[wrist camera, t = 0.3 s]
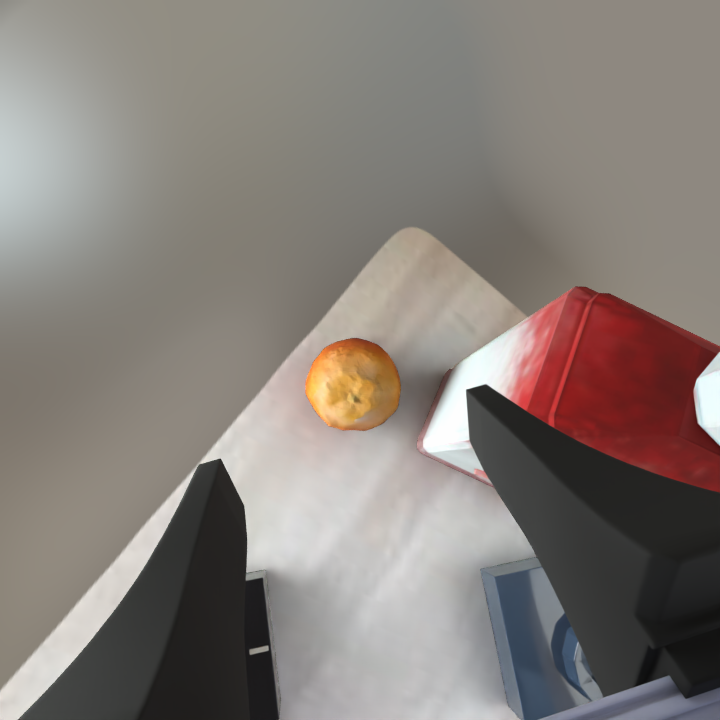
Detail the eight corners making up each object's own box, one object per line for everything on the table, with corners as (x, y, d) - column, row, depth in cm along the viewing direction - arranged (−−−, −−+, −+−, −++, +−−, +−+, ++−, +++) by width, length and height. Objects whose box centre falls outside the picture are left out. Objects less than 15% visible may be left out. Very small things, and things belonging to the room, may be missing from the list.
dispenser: (621, 675, 41) (664, 703, 37) (507, 706, 40) (536, 739, 35) (588, 545, 44) (625, 555, 39) (480, 568, 42) (503, 582, 37)
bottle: (581, 423, 46) (1058, 349, 17) (548, 524, 44) (1046, 639, 15) (448, 360, 46) (703, 177, 17) (407, 458, 43) (627, 441, 14)
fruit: (408, 339, 44) (416, 366, 37) (384, 414, 47) (387, 453, 39) (325, 316, 44) (315, 338, 36) (305, 393, 46) (292, 428, 38)
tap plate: (281, 700, 38) (279, 721, 35) (163, 729, 36) (151, 753, 33) (265, 569, 40) (262, 577, 37) (154, 591, 38) (141, 602, 35)
